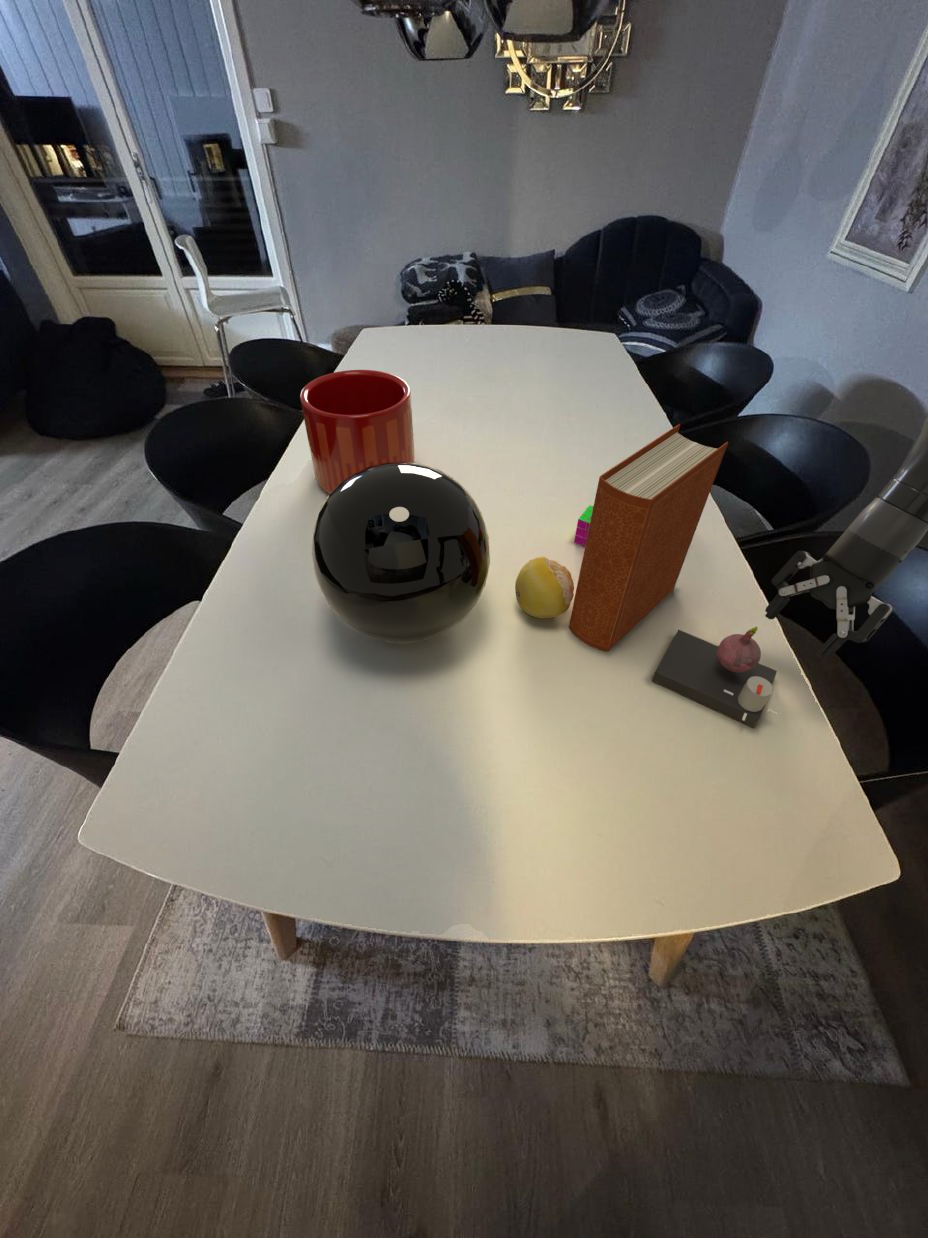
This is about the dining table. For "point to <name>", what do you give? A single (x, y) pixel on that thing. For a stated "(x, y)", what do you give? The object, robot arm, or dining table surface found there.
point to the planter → (356, 423)
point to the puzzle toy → (583, 526)
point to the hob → (707, 677)
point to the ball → (400, 552)
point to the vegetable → (739, 652)
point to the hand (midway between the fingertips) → (793, 636)
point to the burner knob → (755, 694)
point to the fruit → (544, 588)
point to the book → (640, 535)
